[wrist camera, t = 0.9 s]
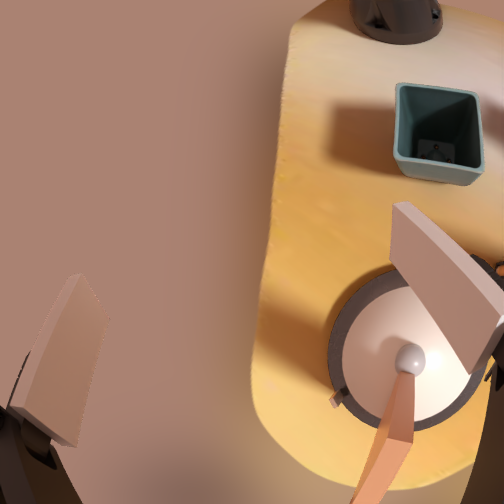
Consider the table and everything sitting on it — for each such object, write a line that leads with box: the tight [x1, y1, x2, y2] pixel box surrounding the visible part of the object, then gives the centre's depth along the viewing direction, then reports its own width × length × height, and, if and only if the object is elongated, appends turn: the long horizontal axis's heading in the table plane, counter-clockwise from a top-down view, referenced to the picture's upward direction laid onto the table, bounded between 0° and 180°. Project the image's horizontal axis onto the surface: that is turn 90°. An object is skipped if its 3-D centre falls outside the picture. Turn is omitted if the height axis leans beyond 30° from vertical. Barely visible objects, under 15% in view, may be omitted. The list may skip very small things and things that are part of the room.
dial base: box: [328, 270, 488, 431], centre depth 26 cm, size 19×19×4 cm
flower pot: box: [393, 83, 485, 186], centre depth 25 cm, size 9×9×9 cm
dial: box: [342, 286, 471, 504], centre depth 19 cm, size 16×15×17 cm
